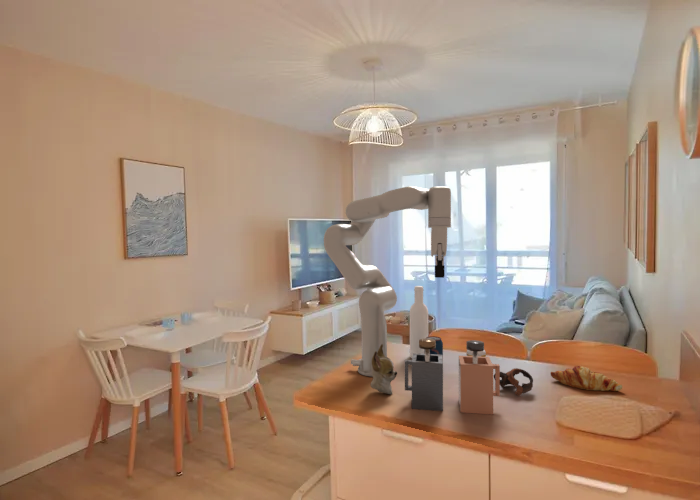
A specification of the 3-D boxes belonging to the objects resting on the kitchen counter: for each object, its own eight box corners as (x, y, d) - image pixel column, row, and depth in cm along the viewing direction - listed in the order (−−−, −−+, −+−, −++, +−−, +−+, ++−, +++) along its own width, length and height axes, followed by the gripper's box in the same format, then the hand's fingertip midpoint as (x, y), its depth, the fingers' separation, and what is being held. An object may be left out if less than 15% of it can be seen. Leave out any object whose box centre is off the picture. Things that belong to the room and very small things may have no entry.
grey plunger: (465, 406, 121) (465, 344, 120) (464, 398, 127) (464, 339, 126) (486, 407, 120) (486, 345, 119) (484, 399, 125) (484, 340, 125)
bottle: (409, 354, 179) (409, 285, 178) (427, 354, 178) (427, 285, 177) (410, 359, 171) (409, 287, 170) (429, 360, 170) (429, 287, 169)
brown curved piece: (524, 386, 141) (533, 369, 137) (528, 408, 133) (537, 391, 129) (489, 376, 143) (497, 359, 138) (490, 397, 135) (499, 380, 130)
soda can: (422, 370, 157) (422, 339, 157) (426, 365, 163) (426, 335, 163) (441, 372, 154) (441, 340, 154) (444, 367, 161) (444, 336, 160)
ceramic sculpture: (394, 401, 128) (393, 353, 128) (366, 398, 131) (366, 351, 130) (400, 388, 138) (399, 344, 138) (374, 386, 141) (374, 342, 140)
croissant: (621, 400, 136) (622, 375, 139) (623, 394, 129) (623, 369, 132) (550, 386, 148) (552, 364, 150) (548, 381, 140) (550, 357, 143)
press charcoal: (404, 408, 123) (403, 361, 122) (405, 396, 132) (405, 353, 131) (442, 410, 121) (442, 363, 120) (442, 399, 129) (442, 354, 129)
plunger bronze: (417, 402, 124) (417, 342, 123) (418, 395, 129) (417, 337, 129) (437, 404, 122) (437, 343, 122) (437, 396, 128) (436, 338, 128)
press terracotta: (460, 412, 120) (460, 364, 119) (458, 400, 128) (458, 355, 128) (501, 415, 117) (501, 366, 117) (496, 402, 126) (496, 357, 126)
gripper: (428, 224, 148) (428, 275, 149) (428, 222, 133) (428, 279, 134) (449, 223, 147) (449, 275, 147) (451, 222, 132) (451, 279, 133)
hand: (439, 277), depth 141 cm, fingers closed
